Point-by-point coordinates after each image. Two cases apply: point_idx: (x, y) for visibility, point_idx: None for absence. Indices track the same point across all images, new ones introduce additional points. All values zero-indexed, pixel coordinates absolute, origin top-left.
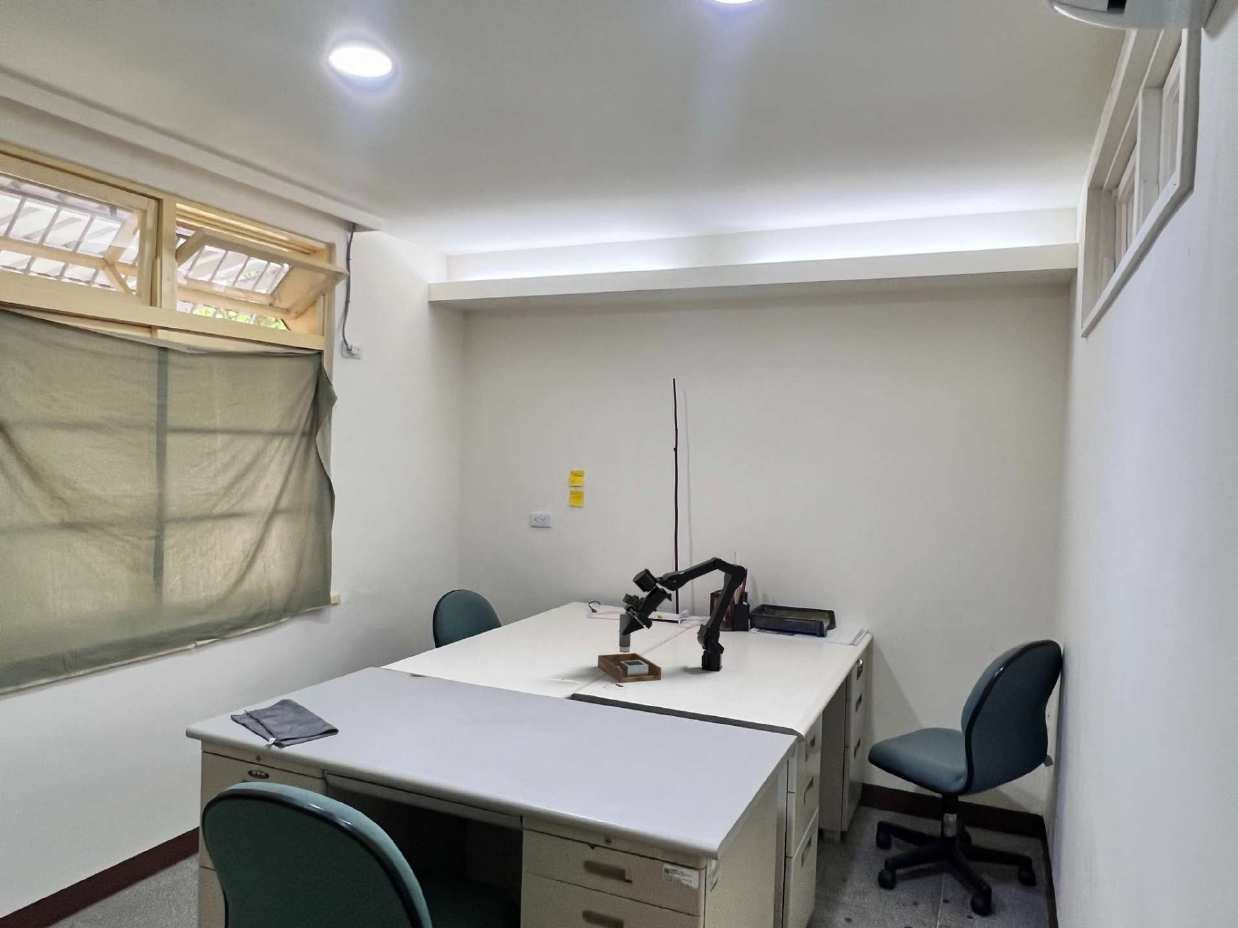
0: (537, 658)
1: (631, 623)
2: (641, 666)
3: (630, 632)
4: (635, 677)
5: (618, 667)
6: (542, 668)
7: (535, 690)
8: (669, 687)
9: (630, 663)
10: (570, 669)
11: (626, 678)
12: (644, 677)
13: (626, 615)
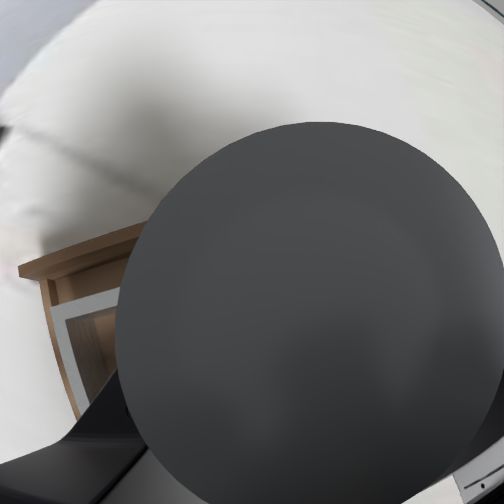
0: (406, 47)
1: (89, 423)
2: (72, 382)
3: None
4: (53, 339)
5: (64, 260)
6: (293, 35)
7: (60, 46)
8: (36, 444)
9: None
10: (288, 98)
11: (42, 297)
12: (63, 380)
13: (154, 370)
